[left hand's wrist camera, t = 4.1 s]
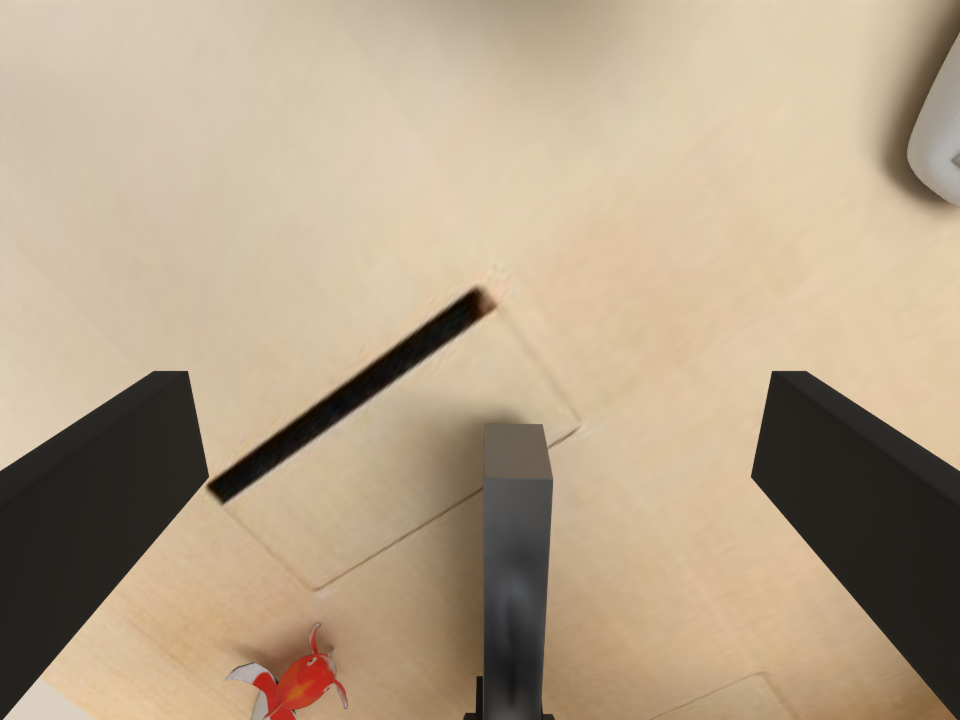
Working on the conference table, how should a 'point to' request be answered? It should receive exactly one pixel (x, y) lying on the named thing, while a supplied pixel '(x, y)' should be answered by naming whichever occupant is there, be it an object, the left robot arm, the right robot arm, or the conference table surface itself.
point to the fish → (291, 684)
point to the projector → (940, 132)
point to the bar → (515, 569)
